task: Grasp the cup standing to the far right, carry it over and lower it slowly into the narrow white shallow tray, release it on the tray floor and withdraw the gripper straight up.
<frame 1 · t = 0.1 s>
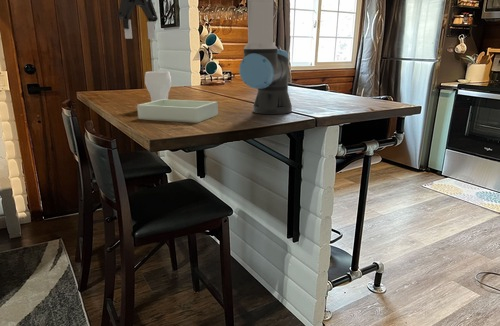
hand: (140, 38, 148), 28 cm above the table, fingers open, 13 cm apart
cup: (160, 109, 161), on the table
white shallow tray: (179, 116, 141), on the table
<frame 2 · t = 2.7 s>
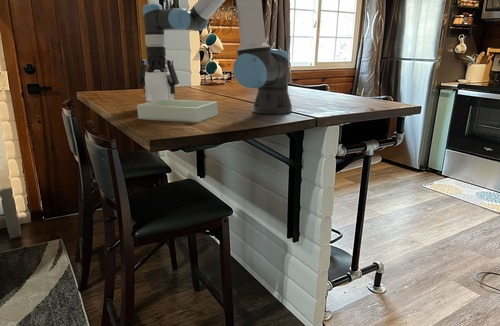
hand: (159, 101, 160), 3 cm above the table, fingers closed on cup, 10 cm apart
cup: (160, 109, 161), on the table, touching gripper
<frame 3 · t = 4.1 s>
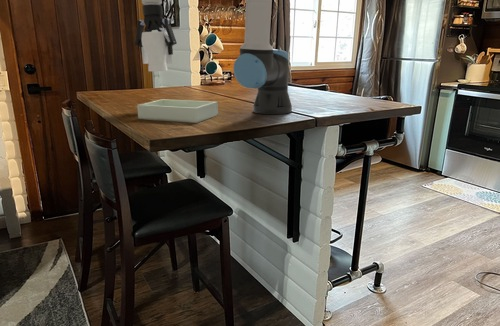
hand: (157, 63, 155), 18 cm above the table, fingers closed on cup, 10 cm apart
cup: (158, 71, 156), point 15 cm above the table, touching gripper
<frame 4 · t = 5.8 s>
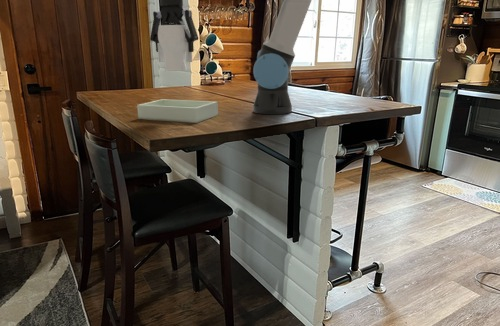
hand: (175, 62, 136), 20 cm above the table, fingers closed on cup, 10 cm apart
cup: (176, 71, 136), point 16 cm above the table, touching gripper
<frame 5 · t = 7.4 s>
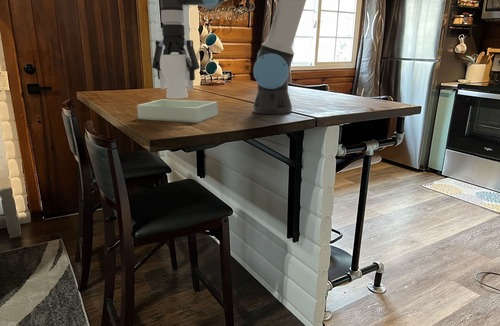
hand: (176, 89, 138), 10 cm above the table, fingers closed on cup, 10 cm apart
cup: (177, 98, 139), point 7 cm above the table, touching gripper
when the fingers open (5 cm above the table, at t = 8.9 s): cup drops 2 cm, resting on white shallow tray.
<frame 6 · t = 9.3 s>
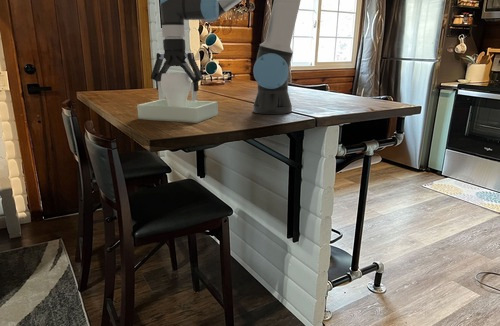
hand: (177, 100, 139), 6 cm above the table, fingers open, 13 cm apart
cup: (178, 115, 141), resting on white shallow tray
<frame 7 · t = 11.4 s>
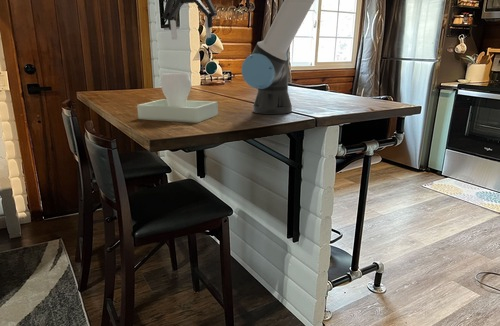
hand: (191, 38, 139), 27 cm above the table, fingers open, 13 cm apart
nothing on the table moved.
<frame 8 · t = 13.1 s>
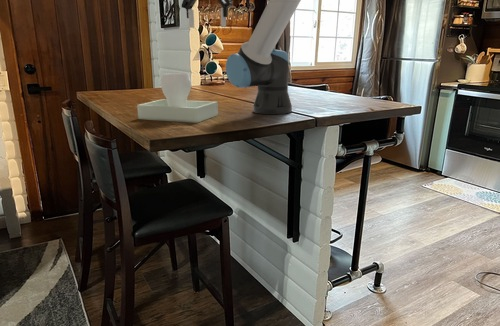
hand: (207, 27, 147), 32 cm above the table, fingers open, 13 cm apart
nothing on the table moved.
at the end: cup inside the target area on the white shallow tray (0.3 cm from its centre), point 0.4 cm above the white shallow tray's base; cup tilted 0°; the gripper is holding nothing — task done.
